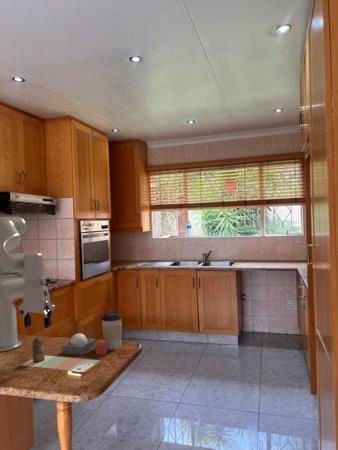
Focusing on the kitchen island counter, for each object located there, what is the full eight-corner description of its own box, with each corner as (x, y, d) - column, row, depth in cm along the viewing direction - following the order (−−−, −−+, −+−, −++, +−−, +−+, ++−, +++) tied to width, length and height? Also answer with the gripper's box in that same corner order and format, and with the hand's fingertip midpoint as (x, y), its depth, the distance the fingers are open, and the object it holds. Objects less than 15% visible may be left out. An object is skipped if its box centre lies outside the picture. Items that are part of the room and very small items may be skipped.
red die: (96, 355, 145) (95, 345, 145) (97, 351, 149) (97, 342, 149) (105, 354, 145) (105, 344, 145) (107, 351, 149) (106, 341, 149)
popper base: (62, 354, 148) (61, 345, 148) (76, 346, 158) (75, 337, 158) (82, 356, 145) (82, 346, 145) (95, 348, 154) (95, 339, 154)
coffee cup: (114, 342, 161) (112, 309, 161) (127, 345, 155) (126, 311, 155) (98, 348, 154) (96, 313, 154) (112, 352, 148) (110, 316, 148)
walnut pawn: (30, 362, 140) (29, 339, 140) (38, 358, 144) (37, 335, 144) (39, 363, 138) (38, 339, 138) (47, 359, 143) (45, 336, 143)
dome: (67, 352, 149) (66, 335, 149) (77, 346, 156) (76, 330, 156) (81, 353, 147) (80, 336, 147) (90, 347, 153) (89, 331, 153)
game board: (19, 366, 138) (19, 365, 138) (39, 356, 148) (39, 354, 148) (85, 373, 127) (85, 372, 127) (101, 362, 138) (101, 360, 138)
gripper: (58, 281, 142) (61, 324, 141) (24, 282, 148) (27, 323, 147) (46, 285, 135) (49, 329, 134) (10, 285, 141) (13, 328, 140)
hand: (37, 326), depth 141 cm, fingers open, 9 cm apart
